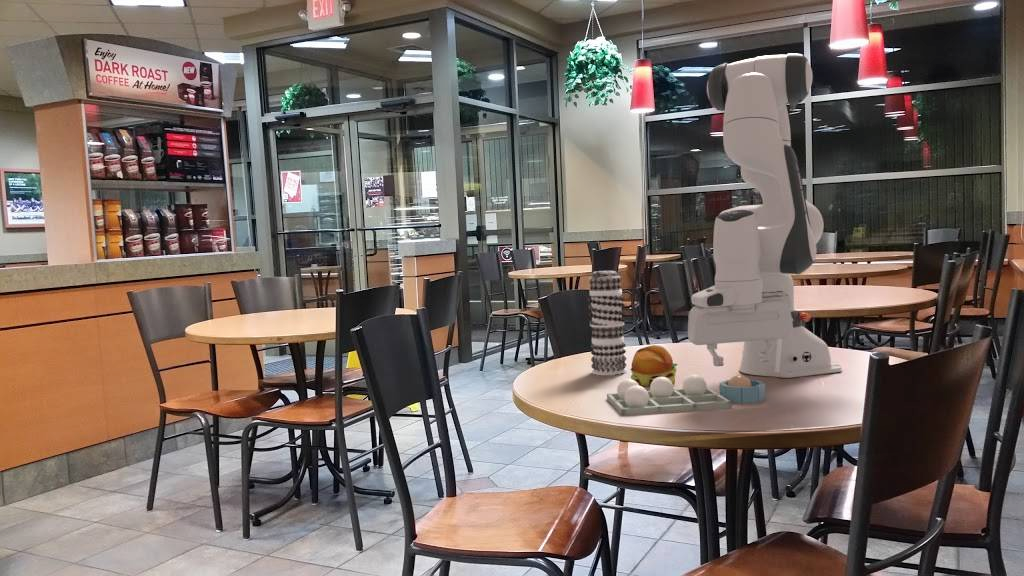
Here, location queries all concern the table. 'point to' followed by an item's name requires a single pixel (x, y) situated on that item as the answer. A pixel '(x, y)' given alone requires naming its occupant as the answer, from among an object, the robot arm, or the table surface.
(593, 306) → the black white tall cylinder
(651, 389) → the egg carton
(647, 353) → the cheeseburger
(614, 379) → the table surface
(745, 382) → the brown egg
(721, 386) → the egg cup
